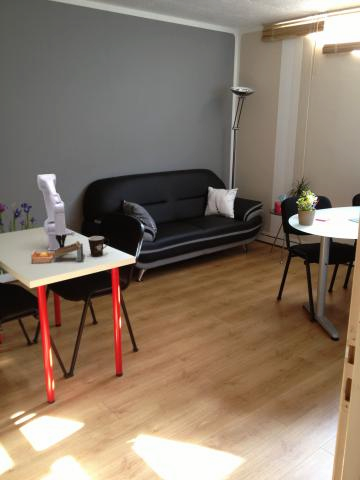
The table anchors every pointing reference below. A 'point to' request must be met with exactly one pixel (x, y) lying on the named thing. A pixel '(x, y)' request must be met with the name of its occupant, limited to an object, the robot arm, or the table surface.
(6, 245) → the table surface
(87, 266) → the table surface
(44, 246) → the table surface
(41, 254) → the ball
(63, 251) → the tipping chute
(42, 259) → the tray
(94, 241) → the coffee mug
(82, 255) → the pivot stand
